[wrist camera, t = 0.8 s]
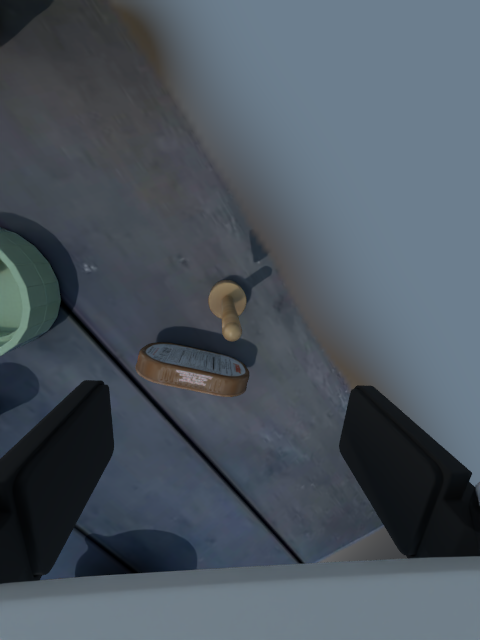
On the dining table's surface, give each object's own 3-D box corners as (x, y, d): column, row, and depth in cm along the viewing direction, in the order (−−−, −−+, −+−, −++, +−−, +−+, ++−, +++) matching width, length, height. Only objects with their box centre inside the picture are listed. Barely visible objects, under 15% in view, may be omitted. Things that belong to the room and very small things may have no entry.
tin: (146, 353, 36) (124, 382, 28) (149, 333, 35) (128, 358, 27) (242, 373, 38) (248, 406, 30) (248, 355, 37) (255, 384, 29)
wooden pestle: (209, 278, 33) (200, 302, 18) (245, 280, 34) (266, 304, 18) (209, 313, 35) (199, 363, 19) (243, 314, 35) (261, 364, 20)
